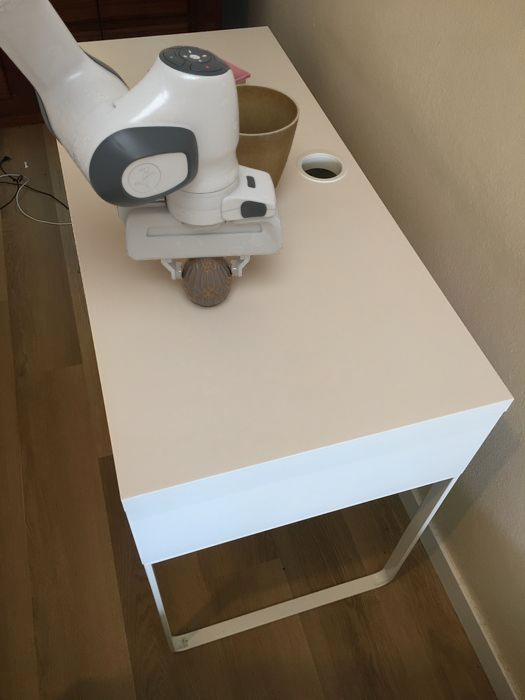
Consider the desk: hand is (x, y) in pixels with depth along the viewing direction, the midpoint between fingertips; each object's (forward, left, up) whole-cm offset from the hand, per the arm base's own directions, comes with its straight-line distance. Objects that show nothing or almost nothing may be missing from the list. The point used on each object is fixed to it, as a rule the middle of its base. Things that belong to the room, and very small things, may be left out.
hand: (207, 274), depth 79 cm
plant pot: (+8, +23, -4) cm, 24 cm away
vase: (0, 0, -4) cm, 4 cm away
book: (+1, +57, -4) cm, 57 cm away
